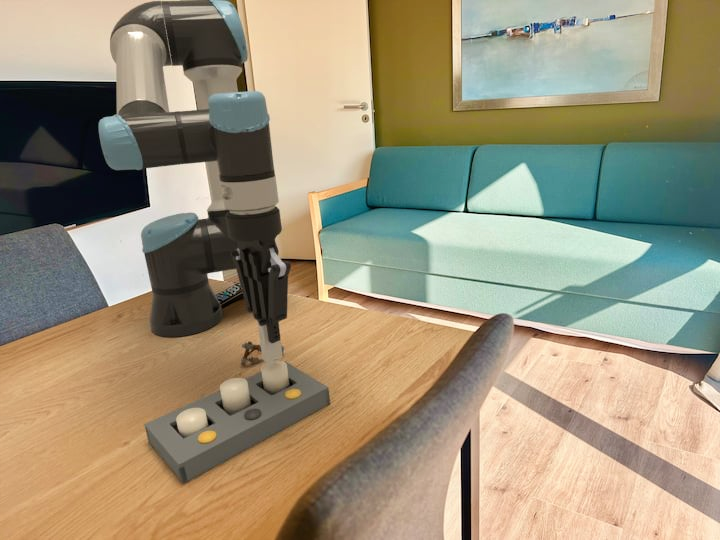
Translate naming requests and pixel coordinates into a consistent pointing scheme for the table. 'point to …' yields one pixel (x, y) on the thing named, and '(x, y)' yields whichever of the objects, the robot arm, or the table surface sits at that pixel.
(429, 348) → the table surface
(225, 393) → the button
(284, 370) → the button
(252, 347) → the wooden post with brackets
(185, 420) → the button
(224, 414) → the console
